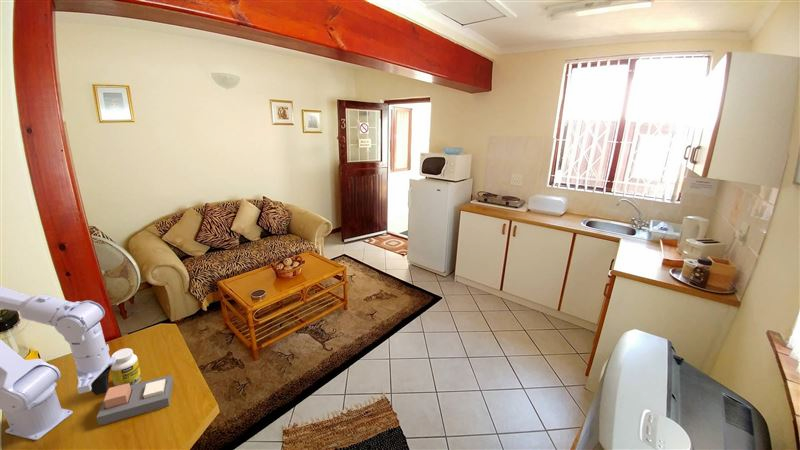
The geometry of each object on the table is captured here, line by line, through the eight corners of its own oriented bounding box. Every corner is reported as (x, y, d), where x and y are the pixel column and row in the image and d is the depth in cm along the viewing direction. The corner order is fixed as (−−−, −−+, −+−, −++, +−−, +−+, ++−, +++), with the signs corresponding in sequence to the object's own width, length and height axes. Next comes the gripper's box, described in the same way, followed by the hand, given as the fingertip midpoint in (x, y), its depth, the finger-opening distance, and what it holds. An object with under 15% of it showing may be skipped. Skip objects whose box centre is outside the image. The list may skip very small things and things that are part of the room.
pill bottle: (126, 393, 90) (119, 363, 86) (109, 387, 91) (101, 358, 87) (146, 377, 96) (141, 348, 92) (130, 372, 97) (124, 344, 93)
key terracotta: (106, 409, 82) (103, 400, 81) (111, 396, 86) (108, 388, 85) (127, 403, 84) (125, 395, 83) (131, 391, 88) (129, 383, 87)
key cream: (145, 403, 86) (143, 395, 85) (148, 391, 90) (146, 383, 89) (164, 398, 89) (162, 390, 88) (166, 387, 92) (165, 378, 91)
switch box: (99, 425, 80) (96, 417, 79) (109, 398, 88) (107, 390, 87) (169, 405, 88) (167, 397, 87) (173, 382, 95) (171, 374, 94)
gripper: (102, 366, 70) (113, 409, 74) (119, 327, 82) (128, 367, 86) (58, 375, 67) (73, 420, 71) (83, 334, 78) (95, 375, 83)
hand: (101, 392), depth 78 cm, fingers closed
